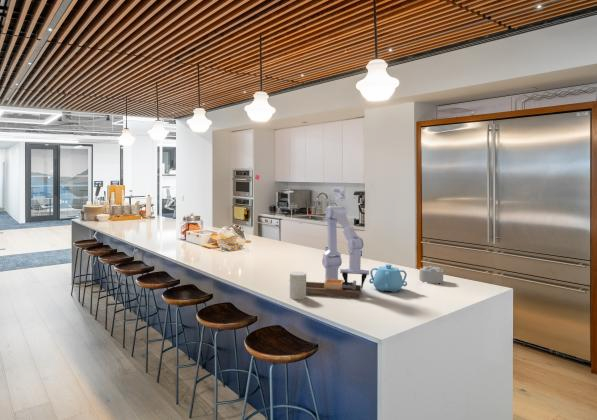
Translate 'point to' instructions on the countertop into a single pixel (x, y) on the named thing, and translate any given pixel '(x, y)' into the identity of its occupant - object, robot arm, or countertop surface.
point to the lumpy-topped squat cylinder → (431, 274)
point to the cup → (297, 285)
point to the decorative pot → (388, 278)
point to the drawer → (338, 284)
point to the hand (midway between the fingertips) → (354, 287)
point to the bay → (331, 290)
